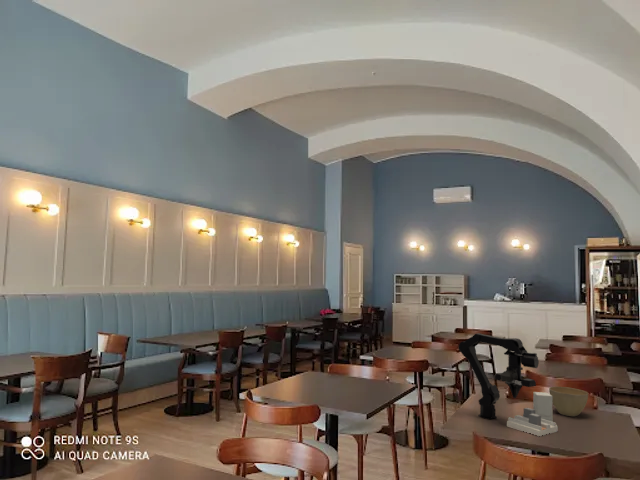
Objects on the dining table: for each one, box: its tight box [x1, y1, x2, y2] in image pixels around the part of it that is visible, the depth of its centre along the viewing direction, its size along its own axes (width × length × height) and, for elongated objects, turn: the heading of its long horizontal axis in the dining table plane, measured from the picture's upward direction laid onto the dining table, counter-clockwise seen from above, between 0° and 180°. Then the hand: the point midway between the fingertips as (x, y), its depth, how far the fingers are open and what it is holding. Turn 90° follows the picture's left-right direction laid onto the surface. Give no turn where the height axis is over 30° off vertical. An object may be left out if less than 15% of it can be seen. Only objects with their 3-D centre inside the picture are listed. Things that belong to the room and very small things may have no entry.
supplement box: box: [532, 391, 554, 422], centre depth 235 cm, size 7×7×13 cm
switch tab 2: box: [529, 414, 541, 426], centre depth 215 cm, size 4×3×5 cm
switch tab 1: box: [523, 407, 535, 418], centre depth 225 cm, size 4×3×5 cm
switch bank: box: [506, 413, 559, 437], centre depth 220 cm, size 16×15×4 cm
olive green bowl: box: [548, 386, 589, 417], centre depth 247 cm, size 18×18×12 cm
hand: (514, 397), depth 228 cm, fingers closed
